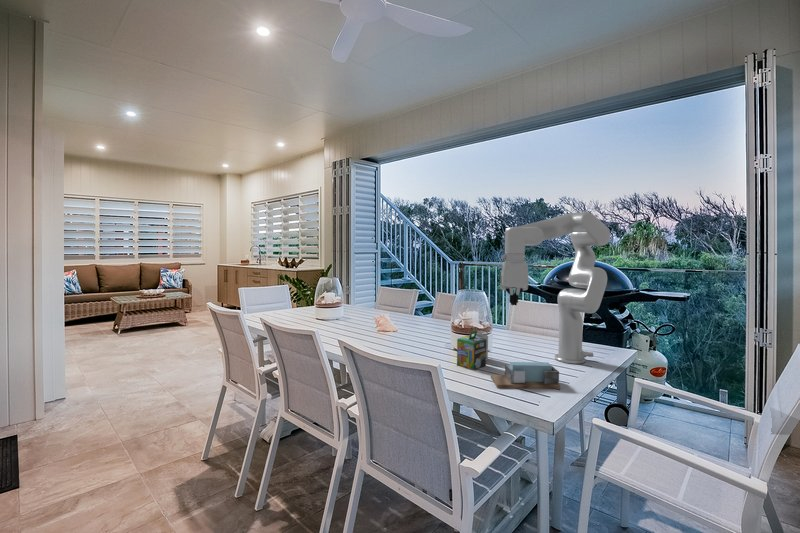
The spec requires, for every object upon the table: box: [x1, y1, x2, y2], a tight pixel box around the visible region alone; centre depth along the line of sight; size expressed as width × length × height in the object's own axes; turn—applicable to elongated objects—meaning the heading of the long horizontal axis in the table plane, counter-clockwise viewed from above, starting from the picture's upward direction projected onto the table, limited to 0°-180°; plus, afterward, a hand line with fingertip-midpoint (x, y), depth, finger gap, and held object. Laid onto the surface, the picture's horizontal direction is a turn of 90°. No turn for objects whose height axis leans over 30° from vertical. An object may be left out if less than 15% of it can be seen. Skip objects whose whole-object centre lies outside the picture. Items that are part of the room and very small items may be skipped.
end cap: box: [504, 363, 525, 383], centre depth 145 cm, size 5×8×4 cm, turn 179°
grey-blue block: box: [509, 361, 553, 382], centre depth 145 cm, size 14×4×6 cm, turn 89°
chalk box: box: [456, 330, 487, 371], centre depth 166 cm, size 9×9×15 cm
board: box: [490, 365, 561, 390], centre depth 145 cm, size 22×11×6 cm, turn 89°
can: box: [472, 330, 489, 360], centre depth 176 cm, size 8×8×12 cm
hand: (513, 304), depth 157 cm, fingers closed
